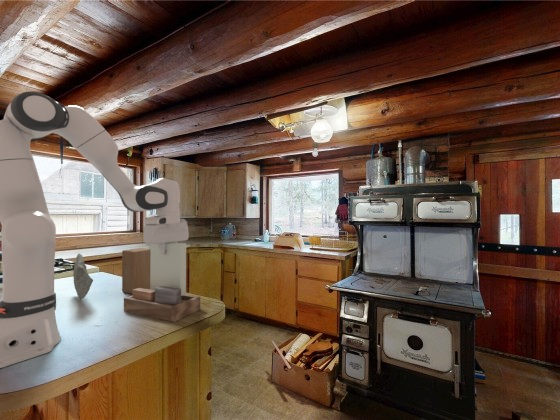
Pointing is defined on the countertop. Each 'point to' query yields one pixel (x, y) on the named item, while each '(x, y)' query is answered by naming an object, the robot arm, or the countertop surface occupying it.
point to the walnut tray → (163, 307)
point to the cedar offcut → (144, 294)
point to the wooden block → (135, 269)
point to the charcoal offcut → (168, 295)
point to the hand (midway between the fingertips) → (168, 253)
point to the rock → (81, 277)
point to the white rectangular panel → (168, 267)
